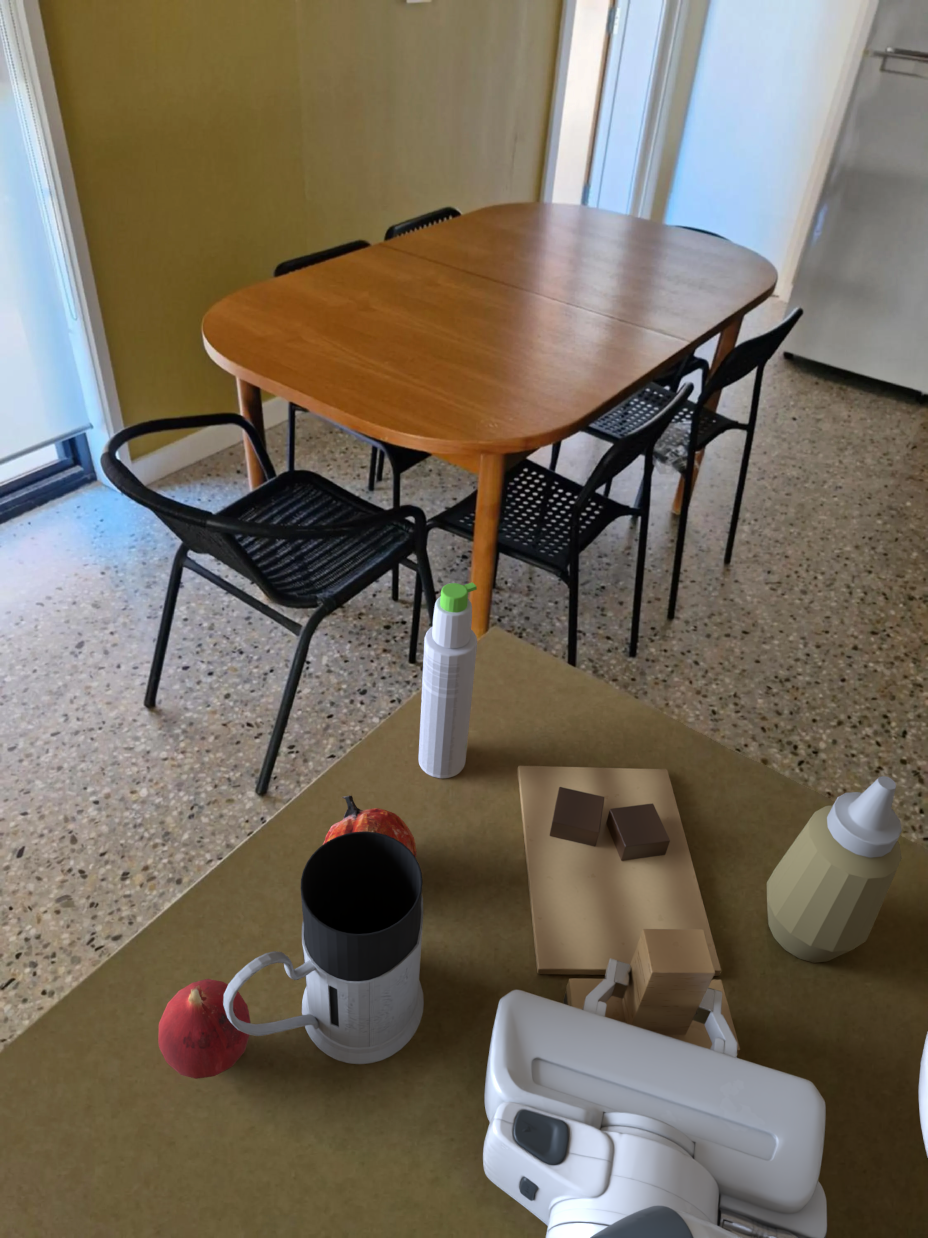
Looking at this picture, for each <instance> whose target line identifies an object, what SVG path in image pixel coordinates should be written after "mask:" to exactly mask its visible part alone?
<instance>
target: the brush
mask: <svg viewBox="0 0 928 1238" xmlns="http://www.w3.org/2000/svg"><path fill="white" fill-rule="evenodd" d="M630 965H631V971H630V974H629V983H628V987H627V990H626V992H625V996H624V998H623V999H622V998H618V997H614V996H611V997H610V998H609V999H608V1000H607V1001H606V1002H605V1003H606V1005H607V1006H606V1012H605V1017H608V1018H611V1019H614V1020H617V1021H620V1022H624V1023H627V1024H630V1025H633V1026H636V1027H640V1028H643V1029H646V1030H649V1031H652V1032H656V1033H659V1034H662V1035H665V1036H668V1037H672V1038H675V1039H678V1040H681V1041H685V1042H688V1043H691V1044H694V1045H697V1046H701V1047H704V1048H707V1049H710V1048H711V1046H712V1042H711V1040H710V1037H709V1035H708V1032H707V1030H706V1028H705V1024H702V1023H699V1022H696V1021H693V1020H692V1019H693V1017H694V1015H695V1014H696V1011H697V1008H698V1006H700V1004H701V1002H702V999H703V997H704V995H705V993H706V991H707V989H708V988H712V989H715V990H718V991H722V1005H721V1014H722V1015H723V1016H724V1018H725V1020H726V1022H727V1024H728V1026H729V1028H730V1030H731V1032H732V1034H733V1036H734V1037H735V1039H736V1041H737V1056H738V1055H739V1053H740V1052H741V1047H740V1043H739V1040H738V1036H737V1033H736V1029H735V1026H734V1022H733V1018H732V1014H731V1010H730V1007H729V1003H728V1000H727V996H726V992H725V988H724V985H723V981H722V979H713V978H714V977H715V976H714V974H715V971H714V967H713V963H712V959H711V956H710V952H709V948H708V944H707V940H706V937H705V933H704V930H694V929H643V931H642V933H641V936H640V939H639V942H638V945H637V947H636V950H635V953H634V956H633V959H632V961H631V964H630ZM604 979H605V978H568V981H567V985H566V988H565V991H564V995H563V999H562V1001H563V1002H562V1003H563V1004H566V1005H569V1006H572V1007H576V1008H579V1009H582V1008H583V1005H584V1002H585V999H586V996H587V995H588V994H589V993H590V992H591V991H592V990H593V989H594V988H595V987H596V986H598V985H599V984H600V983H601V982H602V981H603V980H604Z"/></svg>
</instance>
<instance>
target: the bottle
mask: <svg viewBox="0 0 928 1238" xmlns="http://www.w3.org/2000/svg"><path fill="white" fill-rule="evenodd" d="M477 587H478V586H477V585H476V584H475V583H474V582H472V581H471V582H469V583H465V584H464V585H463V584H460V583H457V582H451V583H447V584H445V585H443V587H441V591H440V596H439V597H438V598H437V599H436V600H435V603H434V608H433V616H432V626H431V627H430V628H429V629H428V630H427V631H426V633H425V635H424V641H423V662H422V681H421V682H422V683H421V701H420V718H419V719H420V723H419V740H418V741H419V743H418V744H419V745H418V764H419V766H420V769H421V770H422V771H423V772H424V773H425V774H426V775H428V776H430V777H432V778H435V779H436V778H437V779H450V778H453V777H455V776H457V775H459V774H460V773H461V772H462V770H463V769H464V768H465V765H466V760H467V759H466V758H467V751H468V741H469V732H470V731H469V728H470V721H471V720H470V719H471V710H472V701H473V700H472V698H473V689H474V681H475V669H476V661H477V659H476V658H477V651H478V637H477V634H476V633H475V632H474V630H473V629H472V625H473V605H472V602H471V600H470V599H469V593H471V592H474V591H476V590H477V589H478V588H477Z"/></svg>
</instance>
